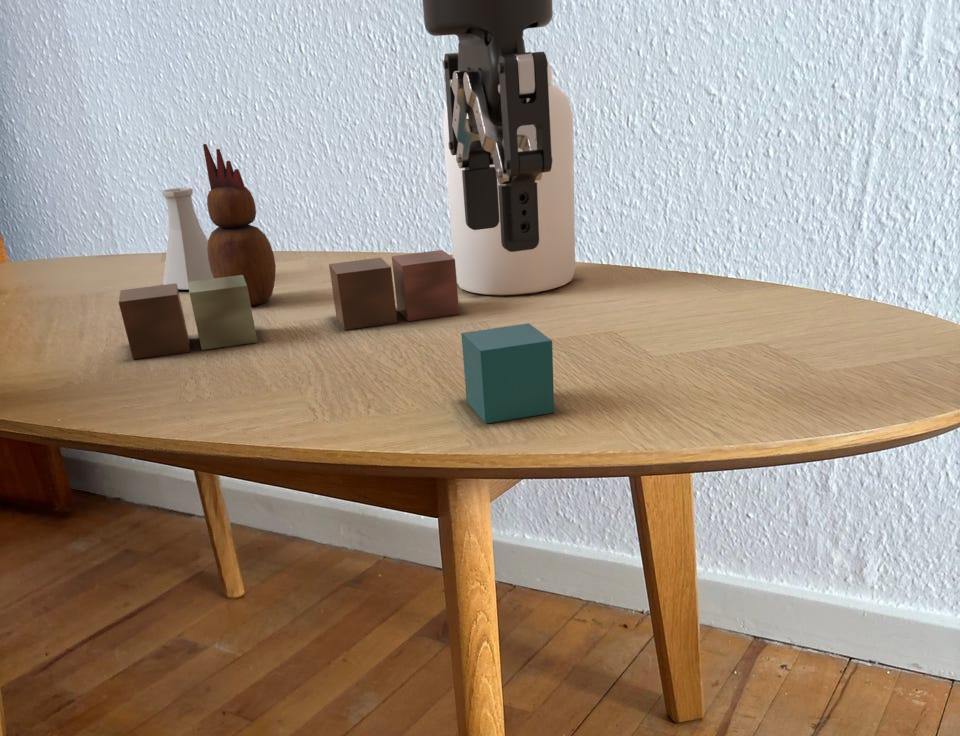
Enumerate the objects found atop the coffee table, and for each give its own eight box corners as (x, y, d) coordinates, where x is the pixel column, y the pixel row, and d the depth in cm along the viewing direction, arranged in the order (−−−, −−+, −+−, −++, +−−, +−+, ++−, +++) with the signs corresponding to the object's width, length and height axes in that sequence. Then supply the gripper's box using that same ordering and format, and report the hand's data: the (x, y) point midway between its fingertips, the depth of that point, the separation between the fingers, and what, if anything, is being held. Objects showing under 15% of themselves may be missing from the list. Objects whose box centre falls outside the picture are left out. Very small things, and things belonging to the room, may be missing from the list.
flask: (186, 294, 109) (165, 196, 104) (152, 287, 114) (130, 193, 108) (241, 280, 114) (223, 185, 108) (205, 274, 118) (186, 183, 113)
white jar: (453, 301, 98) (435, 68, 88) (457, 273, 109) (441, 63, 98) (580, 292, 98) (577, 58, 87) (571, 266, 108) (567, 53, 98)
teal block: (485, 424, 68) (480, 350, 65) (466, 402, 72) (461, 332, 69) (554, 412, 69) (552, 340, 66) (531, 392, 73) (529, 323, 70)
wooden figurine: (208, 304, 104) (176, 146, 97) (256, 293, 108) (228, 139, 100) (241, 313, 100) (210, 148, 92) (290, 301, 103) (263, 140, 95)
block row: (133, 359, 88) (118, 301, 85) (134, 345, 92) (120, 290, 89) (459, 314, 94) (455, 258, 91) (446, 303, 98) (442, 249, 95)
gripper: (393, -52, 61) (420, 229, 70) (449, -76, 49) (474, 266, 58) (510, -60, 62) (522, 216, 71) (591, -86, 51) (595, 249, 59)
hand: (500, 238), depth 64 cm, fingers open, 8 cm apart
